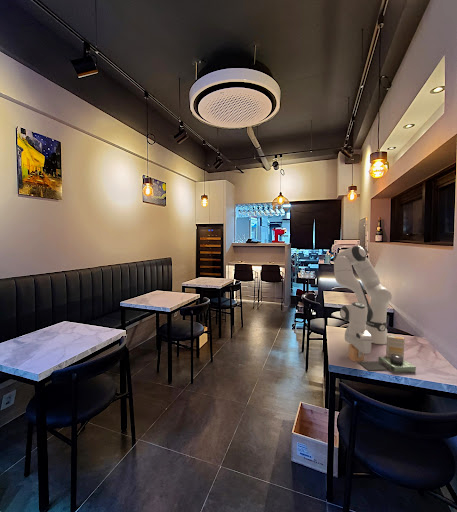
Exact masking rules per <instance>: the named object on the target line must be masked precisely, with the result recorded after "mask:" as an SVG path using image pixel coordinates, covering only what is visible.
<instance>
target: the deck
mask: <svg viewBox="0 0 457 512" xmlns="http://www.w3.org/2000/svg"><path fill="white" fill-rule="evenodd" d="M377 360H378V361H377V362H378V363H380V364H381V365H383V366H384V367H385V368H387V369H388V371H390V372H392V373H394V374H401V373H403V374H405V373H407V374H408V373H411V374H412V373H416V370H417V368H416V367H417V366H415V365H414V364H412V363H410V362H408V361H407V360H405V358H404V359H403V357H402V356H401V355H398V354H390V357H387V356H378V359H377Z"/></svg>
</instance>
